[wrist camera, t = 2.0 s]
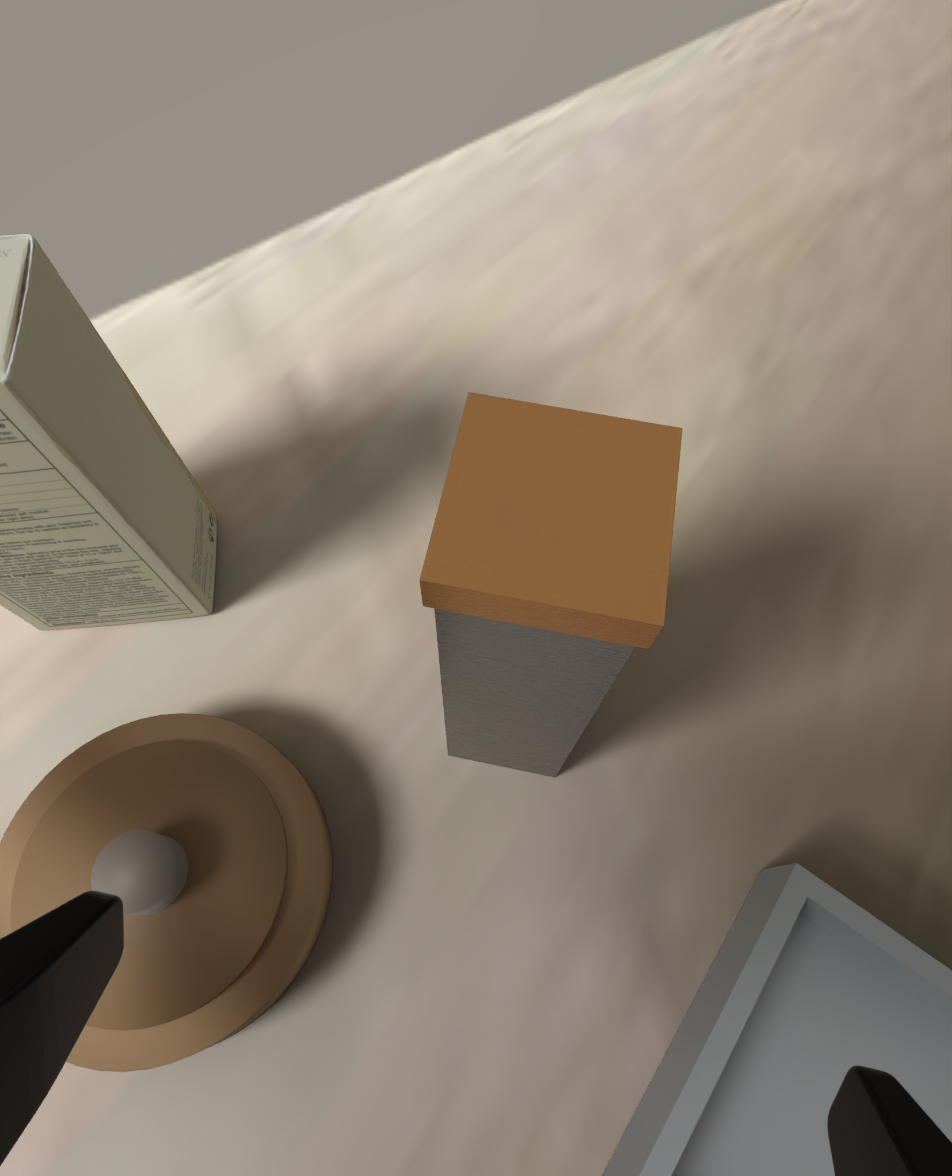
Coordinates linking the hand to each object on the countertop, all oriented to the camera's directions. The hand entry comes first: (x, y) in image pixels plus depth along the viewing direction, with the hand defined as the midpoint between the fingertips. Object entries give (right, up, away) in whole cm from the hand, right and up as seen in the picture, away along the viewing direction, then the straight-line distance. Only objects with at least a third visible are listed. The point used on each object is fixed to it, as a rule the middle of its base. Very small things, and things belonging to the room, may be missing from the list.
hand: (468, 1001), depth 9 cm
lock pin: (+1, +1, +15) cm, 15 cm away
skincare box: (-12, +5, +17) cm, 22 cm away
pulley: (-9, -4, +13) cm, 16 cm away
